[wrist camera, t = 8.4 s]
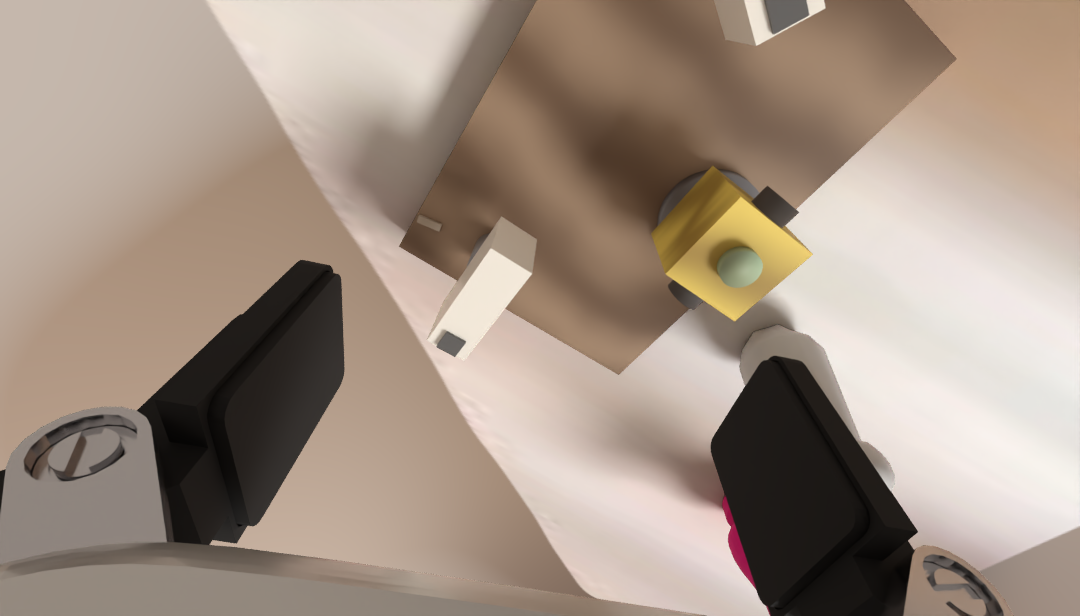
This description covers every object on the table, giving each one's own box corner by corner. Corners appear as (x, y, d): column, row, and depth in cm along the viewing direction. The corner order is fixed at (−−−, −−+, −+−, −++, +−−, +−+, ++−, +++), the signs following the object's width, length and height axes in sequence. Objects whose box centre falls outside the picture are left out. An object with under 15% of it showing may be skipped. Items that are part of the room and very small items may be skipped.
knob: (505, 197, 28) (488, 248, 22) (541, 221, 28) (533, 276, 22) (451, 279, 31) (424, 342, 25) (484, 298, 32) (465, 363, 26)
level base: (668, -230, 19) (727, -371, 12) (930, 55, 24) (1081, 75, 17) (407, 233, 32) (360, 300, 25) (616, 358, 37) (627, 442, 30)
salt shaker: (724, 329, 35) (794, 475, 24) (804, 304, 33) (918, 449, 22) (740, 382, 37) (809, 535, 27) (814, 362, 36) (920, 515, 25)
